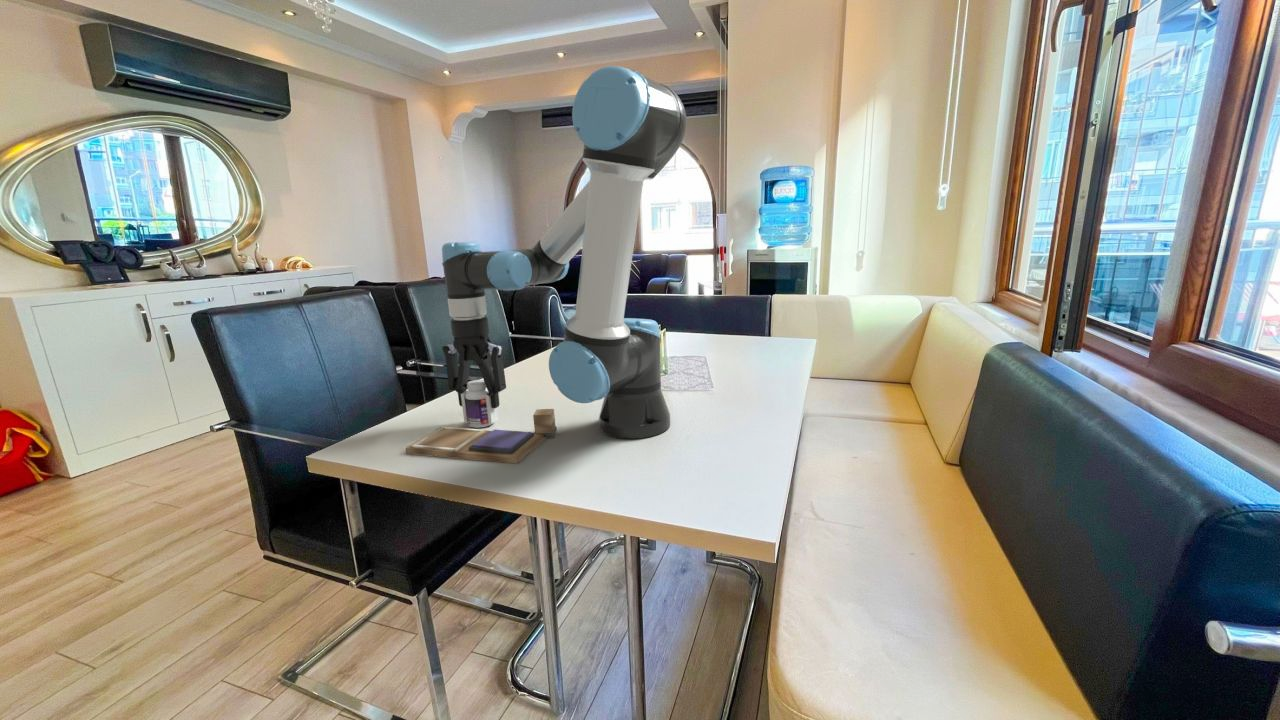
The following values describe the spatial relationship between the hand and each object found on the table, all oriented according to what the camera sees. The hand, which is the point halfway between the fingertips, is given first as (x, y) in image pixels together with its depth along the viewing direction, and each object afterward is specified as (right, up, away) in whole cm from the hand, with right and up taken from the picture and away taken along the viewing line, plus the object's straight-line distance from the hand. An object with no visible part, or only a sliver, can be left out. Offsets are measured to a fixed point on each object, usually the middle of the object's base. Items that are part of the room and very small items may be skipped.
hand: (481, 420), depth 114 cm
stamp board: (+3, -4, -12) cm, 13 cm away
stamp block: (+16, -2, -7) cm, 17 cm away
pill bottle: (0, -1, 0) cm, 1 cm away
